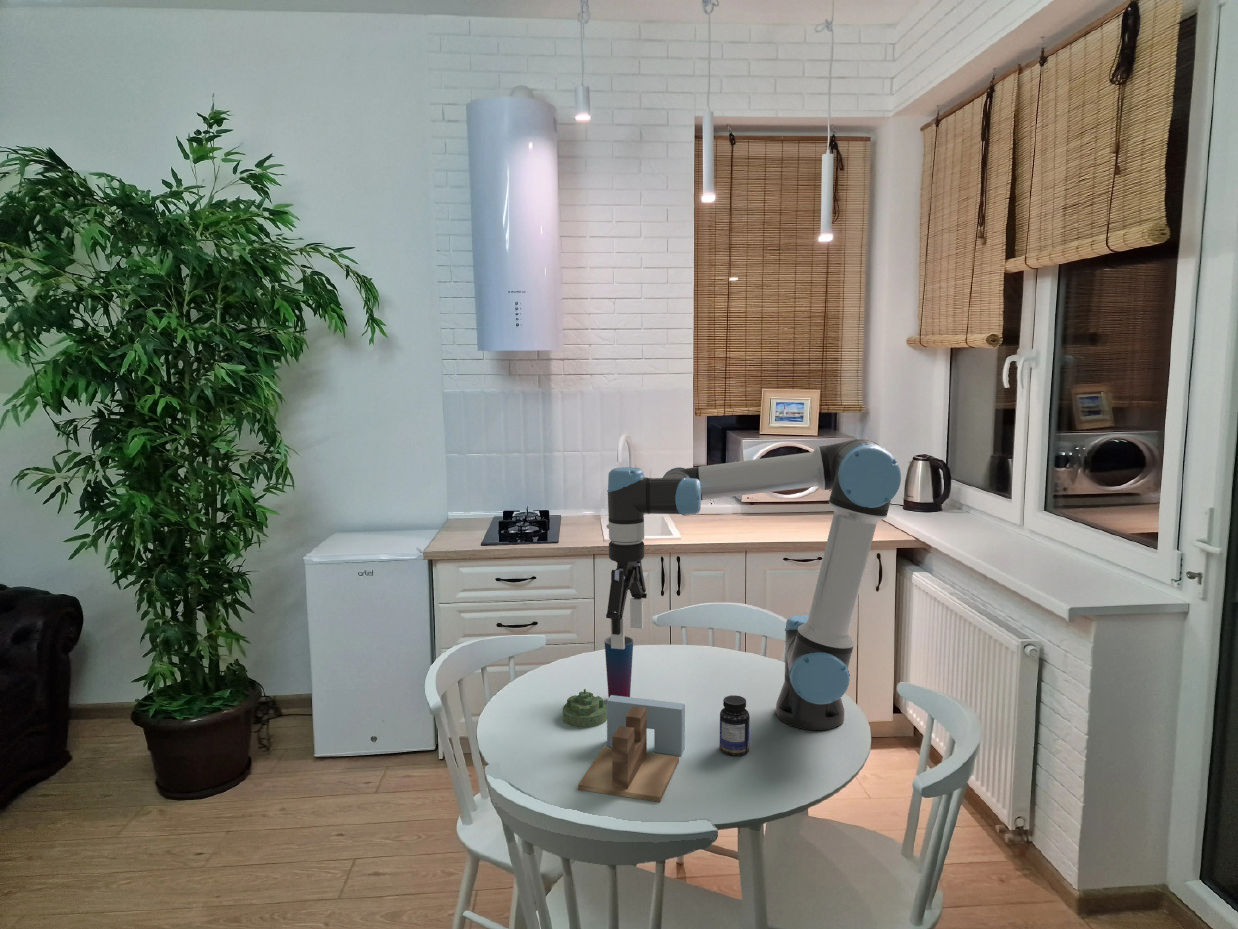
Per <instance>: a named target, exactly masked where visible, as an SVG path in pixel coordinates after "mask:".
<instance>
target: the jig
mask: <svg viewBox="0 0 1238 929" xmlns="http://www.w3.org/2000/svg"><path fill="white" fill-rule="evenodd" d="M647 730H648V728H647V708H641V707H633V706H632V708H631V709H630V711H629V712H628V714H627V715H626V727H624V726H619V727H618V729H617V730H616V732H615V733H614V735H613V736H612V746H602V748H601V749H600V751H599V753H598V754H597V756H596V757H595V759H594V760H593V762H592V764H590V766H589V767H588V769H587V771H586V772H585V774H584V775H583V776H582V778H581V780H580V781H579V783H578V786H577V790H578V791H584V792H592V793H597V794H606V795H612V796H616V797H623V798H624V797H625V798H632V799H638V800H643V801H651V802H658V803H661V801H662V799H663V798H664V795H665V793H666V790H667V789H668V786H669V784H670V781H671V779H672V778H673V776H674V773H675V771H676V769H677V766H678V764H679V762H680V756H677V755H670V754H662V753H655V752H654V753H652V752H647V750H648V749H647V748H648V747H647V746H648V744H647V740H648V739H647V736H648V734H647Z"/></svg>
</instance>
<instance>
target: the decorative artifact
mask: <svg viewBox="0 0 1238 929" xmlns="http://www.w3.org/2000/svg"><path fill="white" fill-rule="evenodd" d="M562 721H563V723H565V724H566V725H568V726H570V727H573V728H578V729H579V728H580V729H589V728H590V729H591V728H595V727H598V726H601V725H603V724H604V723H606V722H607V703H605V702H604V698H602V696H600V695H597V696H595V695H594V693H592V692H590V691H587V689H586V688H584V689H583V691H579V693H578V695H576V694H574V695H571V696H569V697H568V698H567V700H566V703H565V704H564V705H563V706H562Z"/></svg>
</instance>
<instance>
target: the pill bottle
mask: <svg viewBox="0 0 1238 929" xmlns="http://www.w3.org/2000/svg"><path fill="white" fill-rule="evenodd" d="M722 701H723V708H722V709H721V710H720V711H719V712H720V713H719V750H720V751H721V753H722V754H725V755H727V756H731V757H740V756H744V755H746V754H748V752H749V750H750V717H751V716H750V711H748V710H747V699H746V698H745V697H744V696H741V695H734V694H733V695H732V694H731V695H726V696H725V697H723V700H722Z"/></svg>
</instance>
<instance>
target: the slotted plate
mask: <svg viewBox="0 0 1238 929" xmlns="http://www.w3.org/2000/svg"><path fill="white" fill-rule="evenodd" d="M606 706H607V720H606V747H612V736H613V735H614V733H615V732H616V730H617V729H618V727H619V726H624V727H626V715H627V714H628V712H629V711H630V709H631V708H632V706H633V707H641V708H647V730H654V731H653V732H654V737H653V738H654V739H653V740H654V744H653V745H654V746H653V748H654V750H653V751H654V753H655V754H663V755H670V756H678V757H682V756H683V754H684V751H685V748H686V747H685V746H686V745H685V742H686V740H685V739H686V738H685V737H686V734H685V732H686V731H685V730H686V727H685V726H686V723H685V722H686V719H685V718H686V703H684V702H674V701H666V700H657V699H656V700H655V699H647V698H639V697H631V696H630V697H623V696H615V695H611V696H610V697H609V698H608V699H607V700H606Z"/></svg>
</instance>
